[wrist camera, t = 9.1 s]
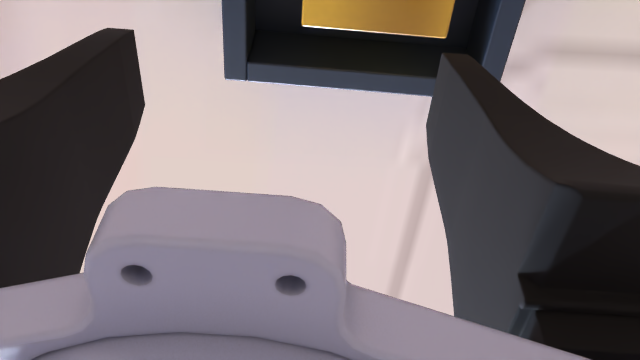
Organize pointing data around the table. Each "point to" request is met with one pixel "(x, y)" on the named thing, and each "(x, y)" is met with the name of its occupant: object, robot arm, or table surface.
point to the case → (359, 47)
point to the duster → (381, 16)
